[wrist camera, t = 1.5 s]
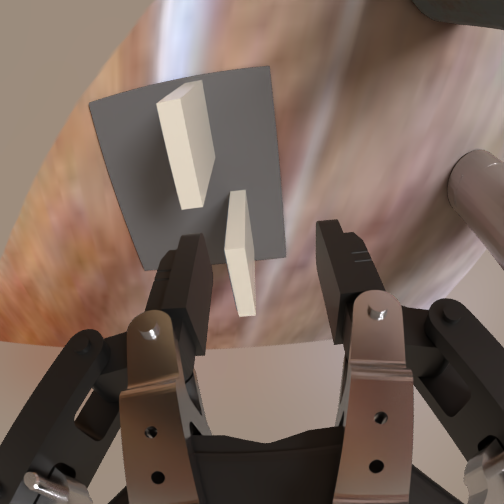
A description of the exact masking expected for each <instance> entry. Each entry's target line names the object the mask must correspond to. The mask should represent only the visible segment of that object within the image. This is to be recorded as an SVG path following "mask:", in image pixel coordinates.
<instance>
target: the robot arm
mask: <svg viewBox="0 0 504 504" xmlns="http://www.w3.org/2000/svg"><path fill="white" fill-rule="evenodd" d="M447 193H448V199H449V202H450V204H451V206H452V208H453V209H454V210H455V211H456V212H457V213H458V214H459V215H460V217H461V218H462V219H463V220H464V221H465V222H466V223H467V225H468V226H469V227H470V228H471V230H472V231H473V232H474V233H475V234H476V236H477V237H478V238H479V239H480V240H481V242H482V243H483V244H484V245H485V247H486V248H487V249H488V250H489V252H490V253H491V254H492V256H493V257H494V258H495V260H496V261H497V262H498V263H499V265H500V266H501V268H502V269H503V270H504V163H503V162H502V161H501V160H499V159H498V158H497V157H495V156H494V155H492V154H491V153H490V152H487V151H485V150H476V151H472V152H470V153H468V154H466V155H465V156H464V157H462V158H461V159H460V161H459V162H458V163H457V164H456V166H455V167H454V169H453V171H452V173H451V175H450V178H449V182H448V189H447ZM316 265H317V272H318V276H319V280H320V285H321V289H322V293H323V297H324V301H325V306H326V310H327V315H328V319H329V323H330V328H331V333H332V337H333V342H334V345H337V344H343V345H344V350H345V357H344V362H343V371H342V381H341V389H340V397H339V405H338V412H337V417H336V422H335V427H330V428H322V429H315V430H308V431H305V432H302V433H300V434H297V435H294V436H291V437H288V438H285V439H281V440H278V441H276V442H272V443H259V442H254V441H248V440H243V439H239V438H234V437H229V436H225V435H222V436H221V435H217V436H214V435H212V433H211V430H210V428H209V426H208V423H207V420H206V417H205V412H204V408H203V403H202V399H201V394H200V390H199V385H198V380H197V375H196V371H195V369H194V361H195V356H201V355H202V356H203V355H205V350H206V340H207V331H208V321H209V312H210V303H211V294H212V286H213V272H212V266H211V262H210V258H209V254H208V250H207V246H206V242H205V238H204V235H203V233H194V234H186V235H181V237H180V241H179V244H178V248H177V249H176V250H169V251H168V252H167V253H166V254H165V256H164V257H163V258H162V259H161V260H160V263H159V266H158V270H157V273H156V276H155V281H154V282H153V286H152V289H151V292H150V295H149V299H148V302H147V306H146V309H145V312H143V313H141V314H139V315H138V316H136V317H135V318H134V319H133V320H132V321H131V323H130V324H129V326H128V329H127V332H124V333H121V334H118V335H115V336H111V337H108V338H105V339H104V338H103V337H102V336H101V334H100V333H99V332H98V331H96V330H93V329H87V330H83V331H80V332H78V333H77V334H75V335H74V336H73V337H72V338H71V339H70V340H69V341H68V343H67V344H66V345H65V347H64V348H63V350H62V351H61V352H60V354H59V355H58V357H57V358H56V359H55V361H54V362H53V364H52V365H51V367H50V368H49V369H48V371H47V372H46V374H45V375H44V377H43V378H42V380H41V381H40V383H39V384H38V386H37V387H36V389H35V390H34V392H33V394H32V395H31V397H30V398H29V400H28V401H27V403H26V404H25V406H24V407H23V409H22V410H21V412H20V414H19V415H18V417H17V418H16V420H15V422H14V423H13V425H12V427H11V428H10V430H9V432H8V433H7V435H6V437H5V438H4V440H3V442H2V444H1V445H0V504H93V501H92V499H91V498H90V496H89V492H88V490H87V488H88V486H89V484H90V482H91V480H92V478H93V476H94V475H95V473H96V471H97V469H98V467H99V465H100V463H101V462H102V459H103V458H104V456H105V454H106V452H107V450H108V449H109V447H110V445H111V443H112V441H113V440H114V438H115V436H116V434H117V432H118V430H119V429H120V427H121V439H122V451H123V460H124V469H125V477H126V486H125V488H124V489H122V490H121V491H120V493H118V494H117V496H115V497H114V498H113V499H112V500H111V501H110V502H109V503H108V504H464V503H462V502H461V501H460V500H458V499H457V498H456V497H454V496H453V495H452V494H450V493H449V492H448V491H446V490H445V489H444V488H442V487H441V486H440V485H438V484H437V483H436V482H434V481H433V480H432V479H431V478H429V477H428V476H427V475H425V474H424V473H423V472H422V471H420V470H419V469H418V468H416V467H415V466H414V465H413V464H412V453H413V452H412V451H413V425H414V392H413V391H414V389H413V385H414V386H415V387H416V389H417V390H418V391H419V393H420V394H421V395H422V397H423V398H424V400H425V401H426V402H427V404H428V405H429V407H430V408H431V409H432V411H433V412H434V414H435V415H436V416H437V418H438V419H439V421H440V422H441V424H442V425H443V426H444V428H445V429H446V431H447V432H448V433H449V435H450V437H451V438H452V439H453V441H454V442H455V444H456V445H457V447H458V448H459V450H460V451H461V452H462V454H463V456H464V457H465V459H466V460H467V462H468V463H467V465H466V468H465V472H464V484H465V485H466V486H467V488H468V491H469V500H468V504H504V348H503V347H502V346H501V344H500V343H499V342H498V341H497V340H496V339H495V338H494V337H493V335H492V334H491V333H490V332H489V331H488V330H487V329H486V328H485V327H484V326H483V325H482V324H481V323H480V321H479V320H478V319H477V318H476V317H475V316H474V315H473V314H472V313H471V312H470V311H469V310H468V309H467V308H466V307H465V306H464V305H463V304H461V303H460V302H458V301H456V300H453V299H447V298H445V299H439V300H437V301H435V302H434V303H433V304H432V305H431V307H430V309H429V310H423V309H415V308H408V307H405V306H402V305H401V304H400V302H399V301H398V299H397V298H396V297H394V296H393V295H392V294H390V293H388V292H386V291H385V288H384V286H383V284H382V281H381V279H380V277H379V275H378V272H377V270H376V268H375V265H374V263H373V261H372V260H371V257H370V254H369V252H368V250H367V248H366V246H365V244H364V242H363V240H362V239H361V238H360V237H358V236H357V235H356V234H355V233H354V232H349V233H343V231H342V228H341V226H340V224H339V221H338V220H337V219H336V220H324V221H317V222H316ZM91 388H93V389H94V391H93V392H92V394H91V396H90V397H89V399H88V400H87V402H86V403H85V405H84V407H83V408H82V410H81V412H80V413H79V415H78V417H77V418H76V420H75V421H74V417H75V414H76V412H77V411H78V409H79V407H80V406H81V404H82V402H83V401H84V399H85V398H86V396H87V394H88V393H89V391H90V389H91Z"/></svg>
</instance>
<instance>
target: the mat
mask: <svg viewBox="0 0 504 504" xmlns="http://www.w3.org/2000/svg"><path fill="white" fill-rule="evenodd" d="M199 80H202V83H203V89H204V95H205V101H206V106H207V112H208V118H209V124H210V130H211V135H212V141H213V147H214V152H215V161H214V165H213V169H212V173H211V176H210V180H209V184H208V188H207V193H206V197H205V201H204V205H203V207H199V208H191V209H184V210H182V209H181V205H180V203H179V199H178V195H177V191H176V187H175V183H174V179H173V175H172V171H171V167H170V163H169V159H168V155H167V151H166V147H165V142H164V138H163V134H162V129H161V125H160V120H159V116H158V111H157V105H156V103H158V102H159V101H160V100H162V99H163V98H164V97H166V96H167V95H169V94H170V93H171V92H173V91H174V90H176V89H177V88H178V87H180V86H181V85H183V84H184V83H188V82H193V81H199ZM89 107H90V111H91V114H92V118H93V122H94V125H95V129H96V133H97V136H98V140H99V143H100V146H101V150H102V153H103V156H104V160H105V163H106V166H107V169H108V172H109V175H110V178H111V181H112V184H113V187H114V190H115V193H116V196H117V199H118V202H119V205H120V208H121V210H122V213H123V216H124V219H125V221H126V224H127V227H128V229H129V232H130V235H131V237H132V240H133V242H134V245H135V247H136V250H137V253H138V255H139V258H140V260H141V262H142V265H143V267H144V270H145V271H147V270H158V266H159V263H160V260H161V259H162V258H163V257H164V256H165V254H166V253H167V252H168V251H169V250H176V249H177V248H178V244H179V241H180V237H181V235H186V234H194V233H203V235H204V238H205V242H206V246H207V250H208V254H209V258H210V262H211V265H212V264H223V263H226V259H225V254H224V243H225V233H226V223H227V214H228V204H229V197H230V191H239V190H246V196H247V203H248V210H249V217H250V224H251V231H252V238H253V245H254V260H264V259H274V258H284V257H286V245H285V230H284V216H283V203H282V190H281V178H280V166H279V155H278V144H277V133H276V123H275V113H274V103H273V93H272V84H271V75H270V66H262V67H252V68H243V69H235V70H227V71H220V72H214V73H208V74H202V75H196V76H191V77H185V78H180V79H176V80H171V81H166V82H162V83H157V84H153V85H149V86H145V87H141V88H137V89H133V90H130V91H126V92H122V93H119V94H116V95H112V96H109V97H106V98H102V99H99V100H96V101H93V102H90V103H89Z"/></svg>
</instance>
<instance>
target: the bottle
mask: <svg viewBox="0 0 504 504" xmlns="http://www.w3.org/2000/svg"><path fill="white" fill-rule="evenodd" d="M412 1H413V2H414V4H415V5H416V6H417V7H418V9H419V10H420V11H421V13H423V14H425V15H426V16H428V17H429V18H431V19H433V20H434V21H440V22H447V23H453V24H459V25H470V26H479V27H487V28H494V29H501V30H504V0H412Z"/></svg>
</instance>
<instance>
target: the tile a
mask: <svg viewBox="0 0 504 504" xmlns="http://www.w3.org/2000/svg"><path fill="white" fill-rule="evenodd" d="M156 105H157V111H158V116H159V120H160V125H161V129H162V134H163V138H164V142H165V147H166V151H167V155H168V159H169V163H170V167H171V171H172V175H173V179H174V183H175V187H176V191H177V195H178V199H179V203H180V205H181V209H182V210H184V209H191V208H199V207H203V205H204V201H205V197H206V193H207V188H208V184H209V180H210V176H211V173H212V169H213V165H214V161H215V152H214V147H213V141H212V135H211V130H210V124H209V118H208V112H207V106H206V101H205V95H204V89H203V83H202V80H199V81H193V82H188V83H184V84H183V85H181V86H180V87H178V88H177V89H176V90H174V91H173V92H171V93H170V94H169V95H167V96H166V97H164V98H163V99H162V100H160V101H159V102H158V103H156Z"/></svg>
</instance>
